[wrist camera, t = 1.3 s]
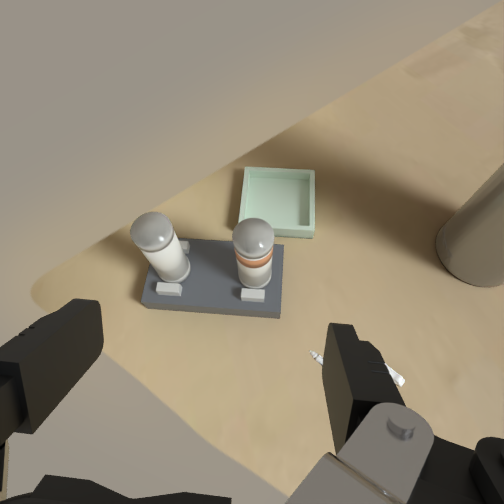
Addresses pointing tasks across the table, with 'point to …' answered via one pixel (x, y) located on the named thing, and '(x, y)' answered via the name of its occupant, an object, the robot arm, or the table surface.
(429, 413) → the table surface
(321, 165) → the table surface
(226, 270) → the fuse holder
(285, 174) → the tray
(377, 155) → the table surface
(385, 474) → the robot arm
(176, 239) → the plain fuse
